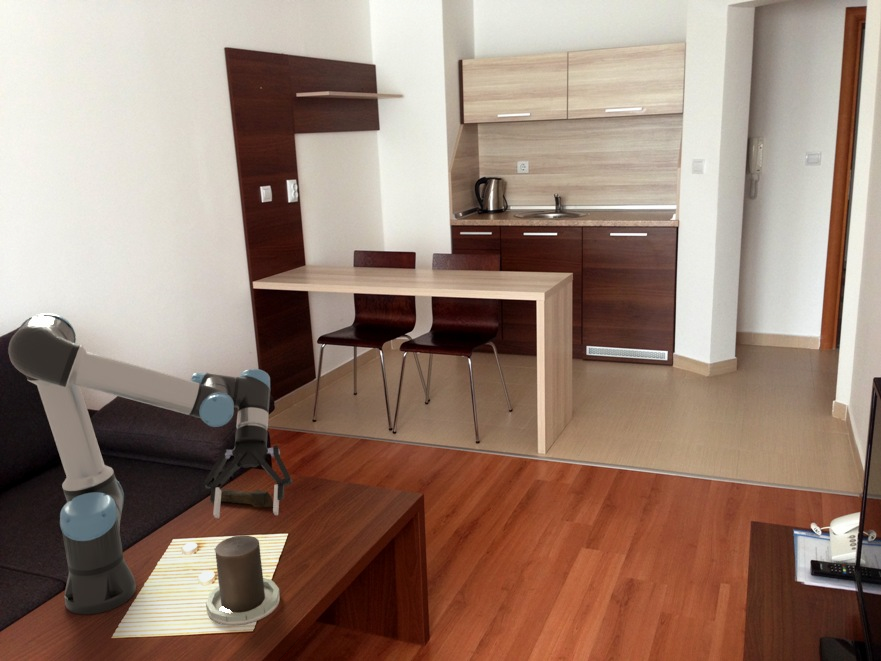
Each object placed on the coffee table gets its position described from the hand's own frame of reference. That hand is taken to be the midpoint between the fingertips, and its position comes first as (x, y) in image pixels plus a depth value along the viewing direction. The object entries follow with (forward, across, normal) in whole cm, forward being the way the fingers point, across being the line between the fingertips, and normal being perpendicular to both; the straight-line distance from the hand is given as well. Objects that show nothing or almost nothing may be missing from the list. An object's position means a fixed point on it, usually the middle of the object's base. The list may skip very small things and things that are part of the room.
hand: (245, 515), depth 181 cm
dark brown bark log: (-18, +10, -43) cm, 48 cm away
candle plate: (+18, 0, -6) cm, 19 cm away
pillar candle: (+18, +1, -6) cm, 19 cm away
